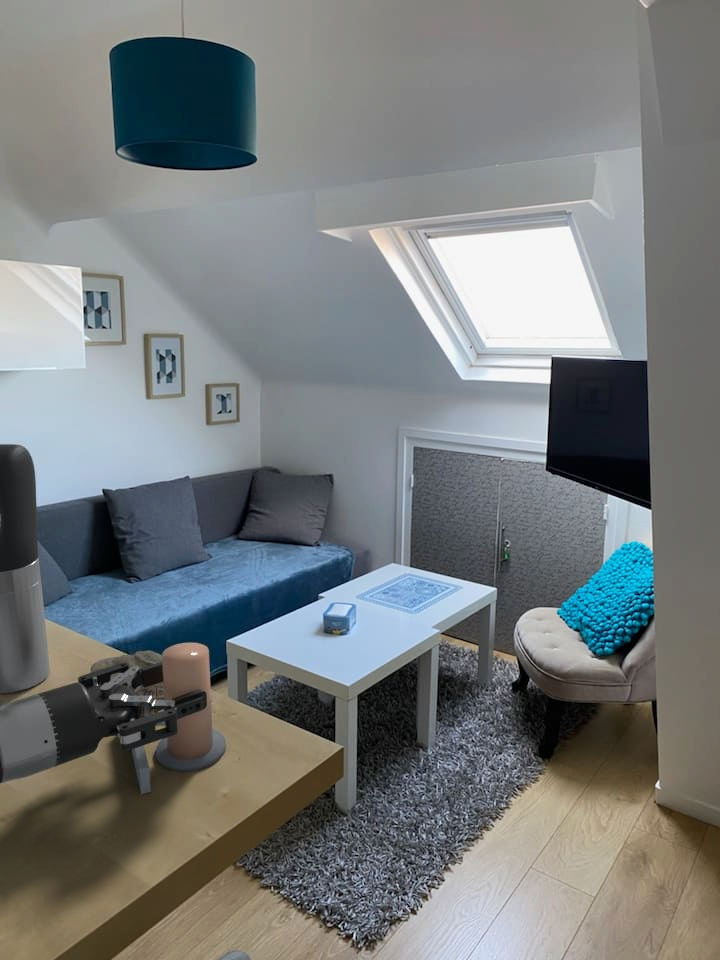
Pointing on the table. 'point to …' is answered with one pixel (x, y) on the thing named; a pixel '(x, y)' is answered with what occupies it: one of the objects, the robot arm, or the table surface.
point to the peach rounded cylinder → (182, 676)
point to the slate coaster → (191, 764)
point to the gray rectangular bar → (142, 769)
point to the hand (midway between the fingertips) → (188, 682)
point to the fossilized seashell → (138, 660)
